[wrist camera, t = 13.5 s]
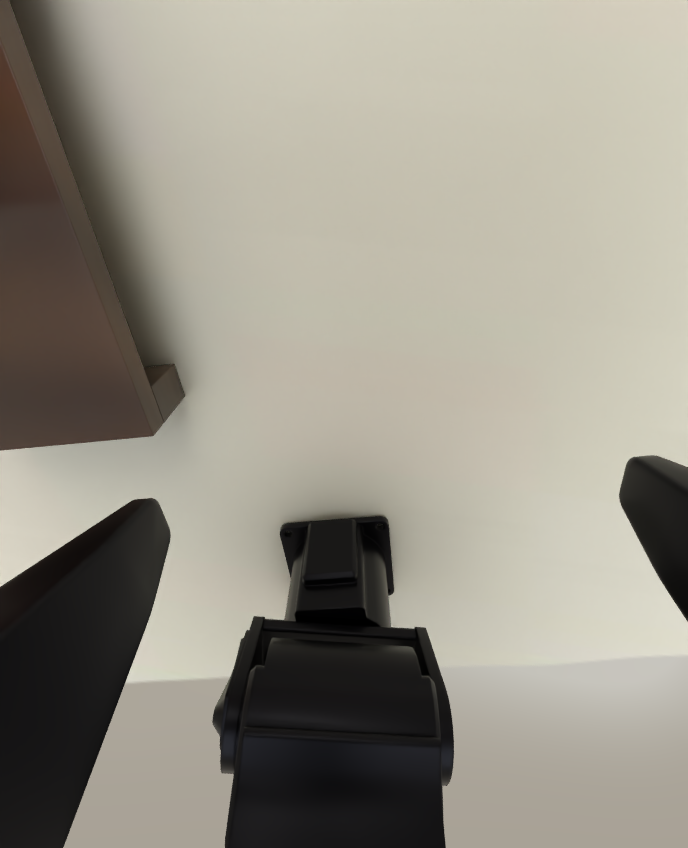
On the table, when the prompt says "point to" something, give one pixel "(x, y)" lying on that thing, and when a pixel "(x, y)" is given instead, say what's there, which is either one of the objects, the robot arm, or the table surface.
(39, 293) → the dark brown platform
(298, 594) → the robot arm
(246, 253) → the table surface
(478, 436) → the table surface
